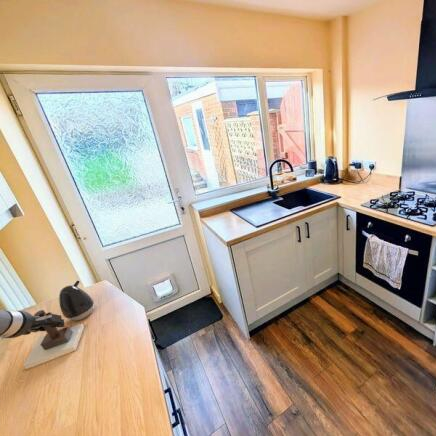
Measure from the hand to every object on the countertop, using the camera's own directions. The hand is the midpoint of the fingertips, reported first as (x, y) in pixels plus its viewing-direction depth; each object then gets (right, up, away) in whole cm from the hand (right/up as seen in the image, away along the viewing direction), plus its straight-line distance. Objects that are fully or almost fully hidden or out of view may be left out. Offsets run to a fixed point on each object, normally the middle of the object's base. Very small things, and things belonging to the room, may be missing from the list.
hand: (57, 325), depth 92 cm
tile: (+1, -8, -1) cm, 8 cm away
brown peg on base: (+2, -5, -2) cm, 6 cm away
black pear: (-1, -1, +13) cm, 13 cm away
